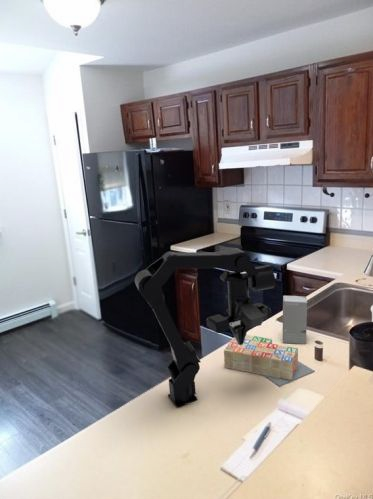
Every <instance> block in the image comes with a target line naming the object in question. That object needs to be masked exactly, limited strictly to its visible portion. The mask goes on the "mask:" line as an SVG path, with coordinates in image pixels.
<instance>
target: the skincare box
mask: <svg viewBox="0 0 373 499" xmlns="http://www.w3.org/2000/svg"><path fill="white" fill-rule="evenodd" d="M307 318H308V298H307V296H300V295H299V296H297V295H283V296H282V342H283V344H301V345H302V344H303V345H306V344H307V326H308V325H307V321H308V319H307Z"/></svg>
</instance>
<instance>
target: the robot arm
mask: <svg viewBox="0 0 373 499" xmlns="http://www.w3.org/2000/svg"><path fill="white" fill-rule="evenodd" d="M177 269H220V270H224V272H223V273H222V274H221V275H220V276H219V278H220V280H222V281H223V282H227V295H225V300H226V301H228V308H227V309H226V313H227V315H228V316H223V315H221V314H219V313H218V314H214V315H212V316H208V317H207V318H206V327H207V328H209V329H210V330H212V331H213V332H215V333H216V334H220V333H224V332H227V331H228V330H229V329H230V330H231V332H232V335H233V337H235V338H236V340H237V342H238V344H239V345H243V342H244V339H245V336H246V335H247V333H248V330H249V329H254V328H255V327H258V326H259V327H260V326H262V324H263V321H265V320H267V319H269V318H271V316H272V309H271V308H270V307H269V306H267V305H266V304H263V303H261V302H257V303H253V298H252V297H251V296H249V294H250V291H249V290H250V289H251V290H252V291H253V292H257V291H258V292H259V291H265V290H269V289H274V288H275V287H276V284H277V279H276V278H275V277H276V276H275V273H274V271H273V270H272V265H270V264H264V265H259V266H254V264H252V262H251V257H250V255H249V254H248V253H247V252H245V251H243V250H242V249H239V248H236V247H230V248H226V249H225V248H224V249H221V250H218V251H214V252H210V251H209V252H205V251H204V252H190V251H189V252H186V251H185V252H184V251H183V252H181V251H180V252H179V251H178V252H175V251H166V252H165V253H164V254H163V255H162V256H161V257H160V258H158V259H156V260H155V261H154V262H153V263H151V264H150V265H148V266H147V267H146V268H145V269H142V270H141V271H139V272H137V274H136V275H135V278H134V283H135V286H136V288H137V290H138V291H139V293H140V295H141V296H142V298H143V299H144V300H145V301H146V302H147V304H148V305H149V307H151V309H152V311H153V313H154V315H155V317H156V319H157V321H158V323H159V326H160V327H161V329H162V331H163V333H164V335H165V337H166V339H167V341H168V344H169V345H170V350H171V355H172V358H173V359H172V361H171V362H170V363H168V365H167V366H166V369H167V371H168V374H169V375H170V378H169V379H168V387H169V388H168V389H169V393H168V394H167V397H168V399H169V400H170V401H171V402H172V404H174V406H175V407H176V408H181V407H183V406H186V405H188V404H191V403H194V402H196V401H198V397H197V396H196V394H197V393H196V391H197V390H196V382H195V379H196V376H197V375H198V373H199V371H200V369H201V368H200V363H201V360H200V358H199V357H198V355H197V352H196V350H195V348H194V347H193V344H192V343H191V342H190V341H189V340H188V341H186V342H185V341H184V339H183V338H182V335H181V334H180V331H179V330H178V327H177V325H176V323H175V321H174V319H173V317H172V315H171V312H170V311H169V309H168V305H167V304H166V302H165V296H164V295H165V294H164V290H163V286H164V285H165V284H166V283H167V282H168V281H169V278H170V277H171V276H172V274H173V273H174V272H175V271H176V270H177ZM249 288H250V289H249Z"/></svg>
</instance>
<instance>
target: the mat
mask: <svg viewBox="0 0 373 499" xmlns="http://www.w3.org/2000/svg"><path fill="white" fill-rule="evenodd" d="M313 373H315V370H314V369H312V368H311V367H309V366H308V365H305V364H303V363H302V362H300V361H299V360H298V366H297V369H296V370H295V373H294V375H293V377H292V380H287V379H283V378H276V377H272V376H266V375H262V376H264V377H265V378H266V379H268V380H269V381H271V382H272V383H273V384H275V385H276V386H277V387H279V388H280V387H283V386H284V385H287V384H290V383H291V382H294V381H297V380H298V379H302V378H304V377H306V376H309V375H311V374H313Z"/></svg>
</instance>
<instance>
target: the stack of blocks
mask: <svg viewBox="0 0 373 499" xmlns="http://www.w3.org/2000/svg"><path fill="white" fill-rule="evenodd" d="M223 357H224V358H223V361H224V368H227V369H232V370H237V371H241V372H242V371H243V372H249V373H253V374H258V375H261V376H263V375H266V376H272V377H276V378H283V379H287V380H292V377H293V375H294V373H295V370H296V369H297V366H298V361H299V359H298V358H299V348H298V347H293V346H288V345H283V344H276V343H275V344H274V343H273V339H272V338H267V337H262V336H258V335H257V336H256V335H251V334H246V336H245V339H244V342H243V345H239V344H238V342H237V340H236V338H235V336H233V338H232V339H231V341H230V342H229V343H228V344H227V345H226V346H225V348H224V349H223Z"/></svg>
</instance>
